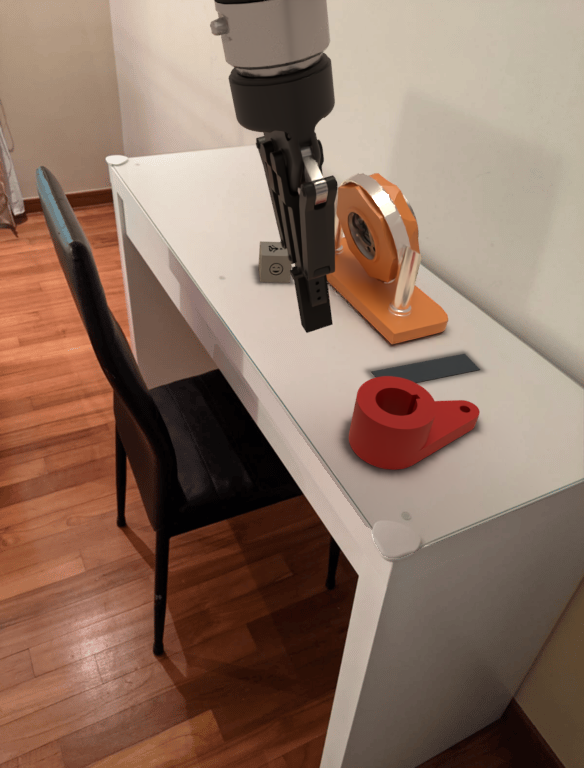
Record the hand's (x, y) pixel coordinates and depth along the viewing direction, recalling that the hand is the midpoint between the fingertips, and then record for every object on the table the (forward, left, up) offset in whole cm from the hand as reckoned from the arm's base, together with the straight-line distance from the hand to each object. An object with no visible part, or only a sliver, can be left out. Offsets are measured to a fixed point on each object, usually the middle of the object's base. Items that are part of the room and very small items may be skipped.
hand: (316, 324), depth 59 cm
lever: (0, -16, -20) cm, 26 cm away
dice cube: (+42, -13, -20) cm, 49 cm away
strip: (+11, -25, -20) cm, 34 cm away
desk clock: (+33, -27, -20) cm, 47 cm away
